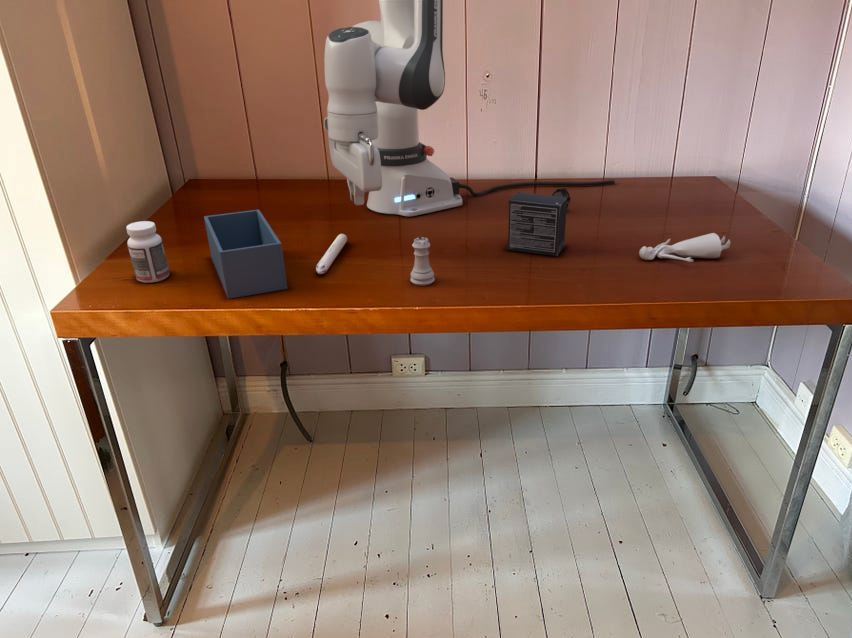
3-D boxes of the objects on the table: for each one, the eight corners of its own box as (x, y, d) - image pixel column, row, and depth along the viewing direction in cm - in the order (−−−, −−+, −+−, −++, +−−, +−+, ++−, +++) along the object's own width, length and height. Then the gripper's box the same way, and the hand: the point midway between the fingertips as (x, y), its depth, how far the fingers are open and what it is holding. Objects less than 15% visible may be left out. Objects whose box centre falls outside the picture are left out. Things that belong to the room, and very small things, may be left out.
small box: (565, 246, 147) (569, 195, 142) (557, 257, 142) (561, 205, 136) (515, 239, 150) (517, 190, 145) (506, 250, 145) (507, 199, 139)
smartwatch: (568, 207, 169) (569, 186, 167) (569, 214, 165) (571, 192, 162) (550, 206, 169) (551, 185, 167) (551, 213, 165) (553, 192, 162)
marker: (324, 278, 132) (323, 266, 131) (313, 277, 132) (312, 265, 131) (347, 243, 147) (346, 232, 146) (337, 243, 148) (336, 232, 146)
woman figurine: (742, 243, 136) (650, 254, 134) (739, 265, 139) (649, 276, 137) (715, 222, 146) (629, 232, 144) (712, 243, 148) (628, 253, 147)
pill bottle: (166, 269, 135) (154, 217, 130) (173, 279, 131) (161, 227, 126) (133, 275, 132) (120, 223, 127) (139, 286, 128) (126, 233, 123)
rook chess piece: (414, 288, 128) (413, 245, 124) (406, 278, 132) (405, 237, 128) (438, 284, 130) (437, 242, 126) (429, 275, 133) (428, 233, 129)
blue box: (265, 250, 143) (259, 209, 139) (287, 288, 128) (281, 243, 123) (211, 258, 140) (203, 216, 135) (228, 298, 124) (219, 252, 120)
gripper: (389, 138, 123) (392, 216, 129) (353, 116, 139) (357, 187, 145) (353, 140, 120) (358, 220, 127) (321, 118, 136) (326, 190, 143)
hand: (357, 202), depth 136 cm, fingers closed
